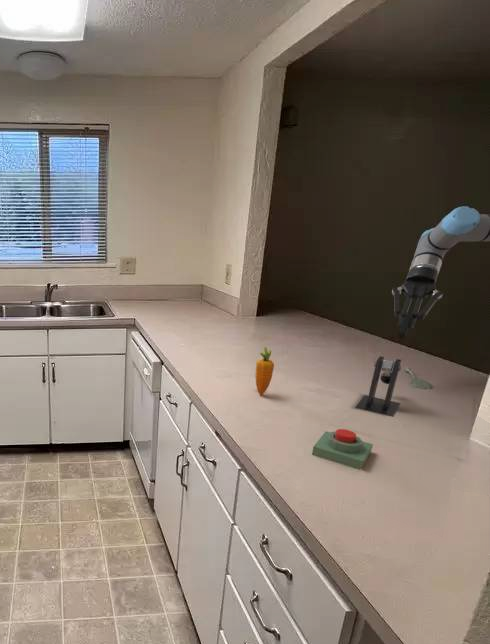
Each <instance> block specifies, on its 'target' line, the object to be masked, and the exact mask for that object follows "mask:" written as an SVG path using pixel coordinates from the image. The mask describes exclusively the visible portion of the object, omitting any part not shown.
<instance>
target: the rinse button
mask: <svg viewBox="0 0 490 644" xmlns="http://www.w3.org/2000/svg"><path fill="white" fill-rule="evenodd" d="M335 431H336V433H335V439H336V440H338V441H340V442H344V443H354V442H355V438H356V436H357V434H356V433H355V432H354V431H352V430H349V429H344V428H339V429H336V430H335Z"/></svg>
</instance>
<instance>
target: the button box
mask: <svg viewBox="0 0 490 644" xmlns="http://www.w3.org/2000/svg"><path fill="white" fill-rule="evenodd" d="M335 433H336V430H335V431H327V430H325V431H324V433H323V434H322V435H321V436H320V438H319V439H318V440H317V441H316V442H315V443H314V445H313V447H312V452H311V455H312V456H315V457H318V458H321V459H324V460H328V461H331V462H333V463H334V462H335V463H337V464H341V465H344V466H347V467H351V468H354V469H357V468H358V469H357V470H360V469H362V470H363V468H364V467H365V464H366V462H367V460H368V459H367V458H369V457H370V454H371V453H372V450H373V446H374V444H373V443H369V442H366V441H363V440H362V439H361V437H359V436H357V435H356V438H355V442H354V443H344V442H340V441H338V440H336V439H335Z"/></svg>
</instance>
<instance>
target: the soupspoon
mask: <svg viewBox="0 0 490 644" xmlns="http://www.w3.org/2000/svg"><path fill="white" fill-rule="evenodd" d="M404 371H405V372H406V373H409V374H410V375H411V377H412V378H413V379H409V380H407V382H406V384H407V386H408V387H410V388H414V389H420V390H432V389H433V385H432V384H431V383H430V382H429V381H427V380H424V379H420V378H418V377H417V376H416V374H414V373H413V371H412V368H411V367H408V366H407V367H405V368H404Z"/></svg>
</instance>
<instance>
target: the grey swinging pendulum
mask: <svg viewBox="0 0 490 644" xmlns="http://www.w3.org/2000/svg"><path fill="white" fill-rule="evenodd" d="M394 363H395V361H394V360H389V359H383V364H382V368H381V372H383V373H382V374H380V381H381V383H383V384H385V385H389V382H390V378H391V374H392V370H393V366H394Z"/></svg>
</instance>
